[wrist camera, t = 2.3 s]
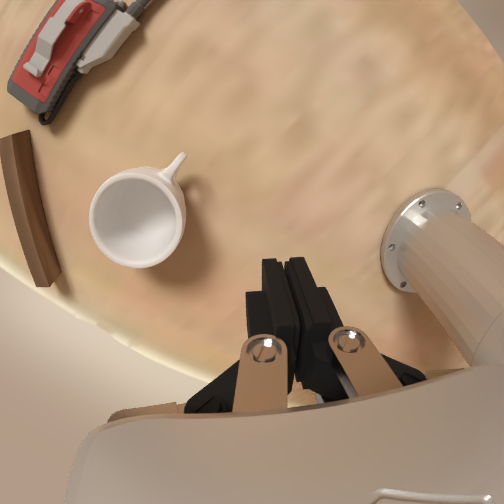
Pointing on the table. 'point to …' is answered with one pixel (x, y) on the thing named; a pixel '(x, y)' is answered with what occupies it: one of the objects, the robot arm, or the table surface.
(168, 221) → the teacup
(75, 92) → the table surface
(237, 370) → the robot arm
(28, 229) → the stop bar
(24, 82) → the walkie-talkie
